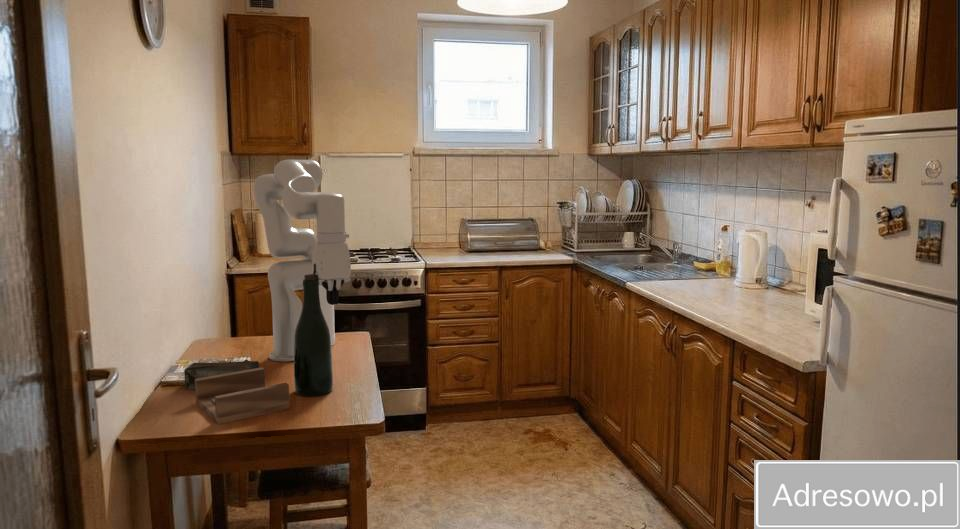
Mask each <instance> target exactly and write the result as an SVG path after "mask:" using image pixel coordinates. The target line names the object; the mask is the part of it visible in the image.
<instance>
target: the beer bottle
mask: <svg viewBox="0 0 960 529" xmlns="http://www.w3.org/2000/svg"><path fill="white" fill-rule="evenodd" d="M302 284H303V289H302V311H301V315H300V318H299V320H298V323H297V326H296V329H295V334H294V361H293V384H294V392H295V393H296V394H298V395H300V396H303V397H316V396H322V395H325V394H328V393H330V392H331V391H332V390H333V388H334V382H333V380H334V377H333V376H334V375H333V374H334V373H333V356H332V355H333V354H332V346H331V336H330V331H329V327H328V325H327V322H326V320H325V318H324V315H323V313H322V310H321V306H320V298H319V280H318V279H317V275H316V274H307V275H305V276H304V280H303V282H302Z"/></svg>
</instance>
